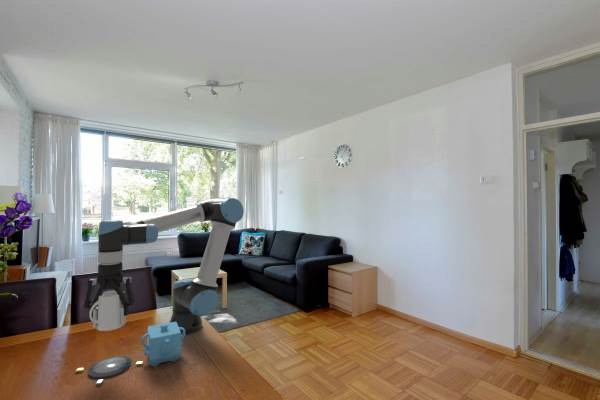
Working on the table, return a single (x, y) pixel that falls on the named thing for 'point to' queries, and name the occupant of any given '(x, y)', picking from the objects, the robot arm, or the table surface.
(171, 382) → the table surface
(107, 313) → the mug
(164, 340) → the teapot
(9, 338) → the table surface
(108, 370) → the socket pad
